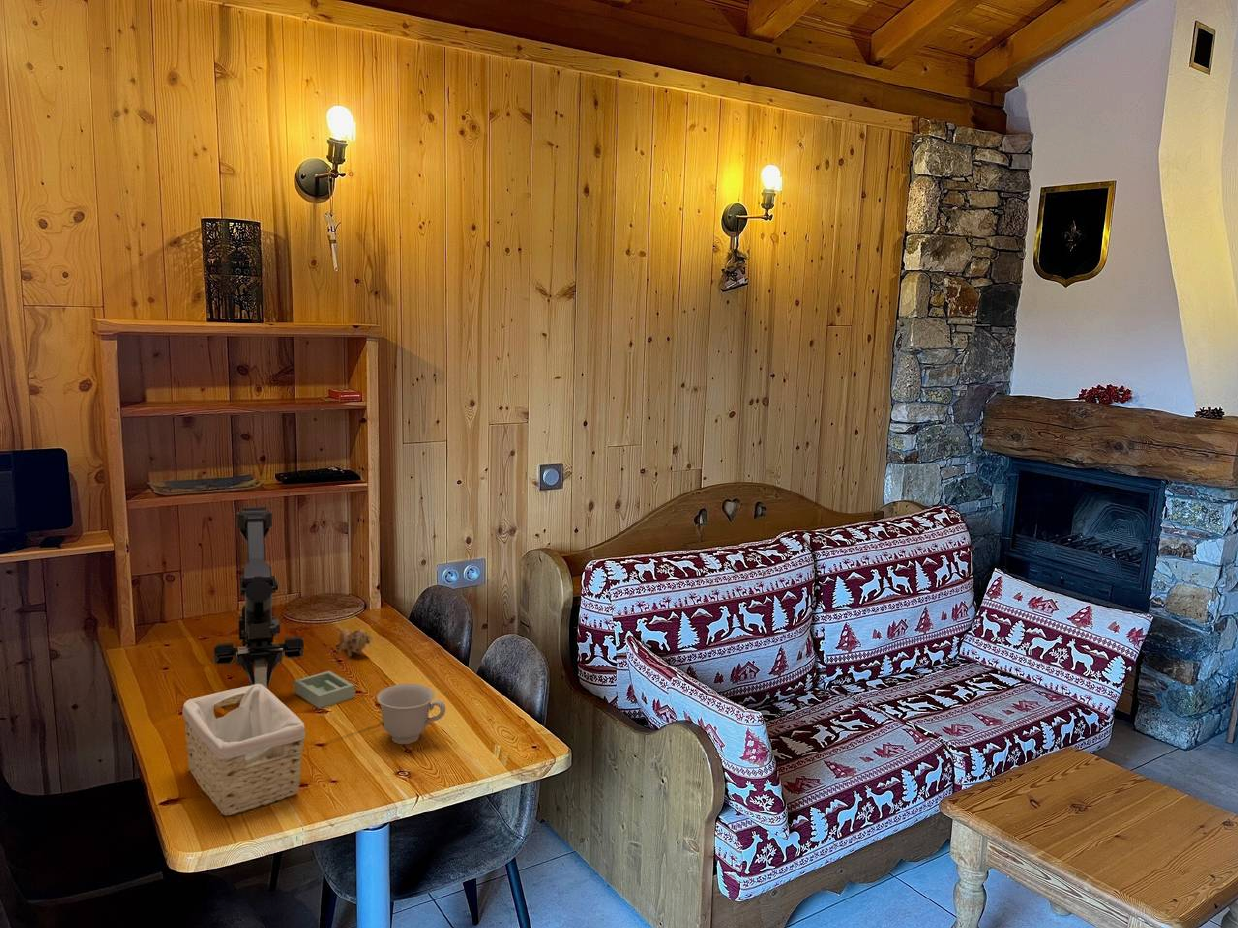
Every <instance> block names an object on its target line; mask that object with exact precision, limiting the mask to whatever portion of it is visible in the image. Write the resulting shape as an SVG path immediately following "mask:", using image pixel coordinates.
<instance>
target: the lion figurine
mask: <svg viewBox="0 0 1238 928" xmlns="http://www.w3.org/2000/svg"><path fill="white" fill-rule="evenodd" d="M338 639H339V640H338V641H339V642H338V644H336V645H335V647H336V648H338V653H342V652H343V645H344V649H345V650H347V657H348V658H352V656H353V653H355V655H360V654H361V651H362V650H363V649H365V648H366V645H370V643H371V641H372V639H373V637H372V636H370V635H369V634H368V633H366V630H365V629H358V630H355V631H353V632H352V630H351V629H349V628H346V627H345V628H343V629H342V630H340V633H339V638H338Z"/></svg>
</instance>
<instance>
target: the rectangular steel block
mask: <svg viewBox="0 0 1238 928" xmlns="http://www.w3.org/2000/svg"><path fill="white" fill-rule="evenodd" d="M253 671H254V677H255V684H262V685H263V686H264V687H266V688H267V689H268V686H267V662H266V658H263V659H254V663H253Z"/></svg>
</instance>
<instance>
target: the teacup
mask: <svg viewBox="0 0 1238 928" xmlns="http://www.w3.org/2000/svg"><path fill="white" fill-rule="evenodd" d="M434 698H435V692H434V691H433V690H432V689H431V688H429V687H428V686H425V685H422V684H417V683H401V684H394V685H391V686H389V687H386V688H384V689H382V690H380V692H379V693H378V694H377V696H376V699H377V702H379V705H380V708H381V716H382V722H383V723H382V724H383V727H384V730H385V731H386V733H387V734H388V735H389V736H391V740H392V742H393V743H395V744H397V745H398V744H399V745H409V744H413V743H415V742H416V741H418V740H419V738H420V737H419V735H421V734H422V733H423V732H424V731H425V729H426V727H427V726H428V724H430V723H432V722H437V721H439V720H441V719H442V718H443V717H444V715H445V713H446V705H445V704H444V702H443V701H442V700H440V699H435V700H434ZM435 706H437V707H439V710H440V712H439V713H438V714H437V715H434V716H432V717H430V718H429V714H430V711H432V710H434V708H435Z"/></svg>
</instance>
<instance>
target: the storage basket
mask: <svg viewBox="0 0 1238 928" xmlns="http://www.w3.org/2000/svg"><path fill="white" fill-rule="evenodd" d="M235 704H239V705H238V707H236V708H234V709H232V710H230V711H229V712H228V713H226V715H224V716H222V717H221V716H220V717H216V715H215V711H214V709H220V708H221V707H224V706H231V705H235ZM182 705H183V707H182V710H181V712H182V713H181V715H182V717H183V718H184V722H185V723H184V726H185V727H184V728H185V733H186V734H185V741H186V752H187V754H188V755H187V761H188V768H189V772H191V774H192V776H193V778H194V779H195V780H196V782H197V784H198V786H199V787H200V788H201V789H202V790H201V791H203V792H204V793H205V794H206V796H207V797H209V798H210V801H211V802H212V803H213V804H214V805H215V806H216V807H217V810H218V811H220V813H221V814H222V815H224V816H232V815H235V814H238V813H243V812H246V811H248V810H252V809H256V808H258V807H260V806H262V805H264V806H265V805H266V806H267V805H269V803H270V804H271V803H272V804H273V803H274V802H275V801H276V800H277V801H281V800H283V799H286V798H290V797H291V796H295V795H296V794H298V792H299V789H300V780H301V779H300V777H301V765H302V753H303V751H304V750H303V749H304V742H305V741H304V740H305V739H306V729H305V723H304V722H303V721H302V720H301V718H299V717H298V715H296V713H295V712H294V711H292V710H291V709H290V708H289V707H288V706H287V705H286V704H285V703H284V702H282V700H280V699H279V698H278V697H277V696H276V695H275V694H274V693H272V692H271V691H270V689H268V687H267V688H266V687H264V686H263V685H262V684H254V685H252V684H251V685H247V686H241V687H238V688H232V689H228V690H224V691H219V692H215V693H211V694H207V695H201V696H199V697H195V698H190V699H187V700H186V701H185V702H184V703H183V704H182Z"/></svg>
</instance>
